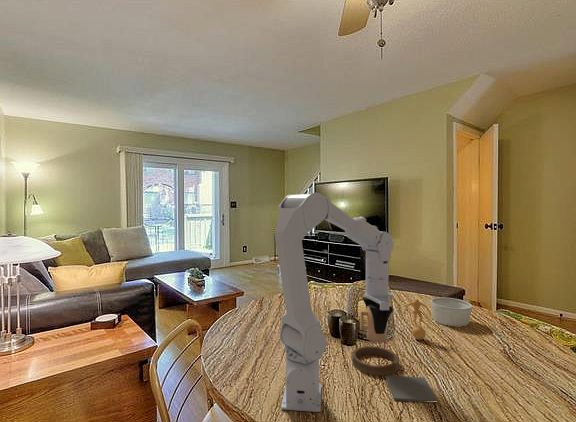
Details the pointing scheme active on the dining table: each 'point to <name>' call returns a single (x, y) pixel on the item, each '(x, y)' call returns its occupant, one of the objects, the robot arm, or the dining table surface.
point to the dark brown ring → (374, 368)
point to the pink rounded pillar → (371, 327)
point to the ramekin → (451, 311)
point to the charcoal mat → (410, 388)
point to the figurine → (418, 330)
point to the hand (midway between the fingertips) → (376, 329)
